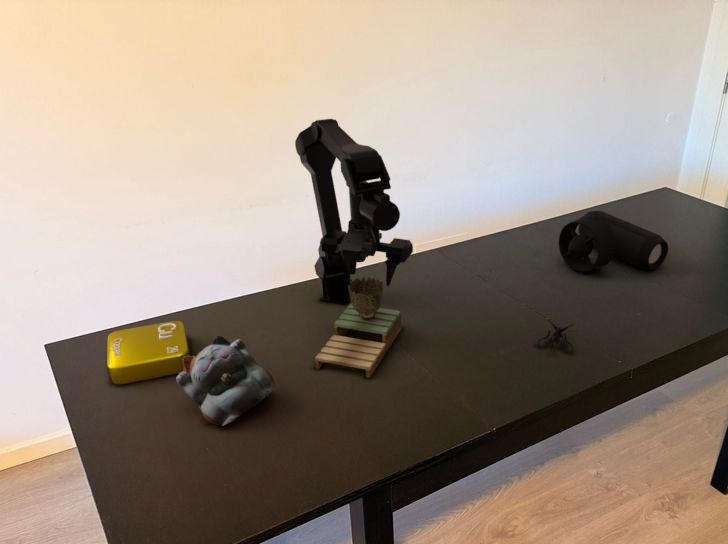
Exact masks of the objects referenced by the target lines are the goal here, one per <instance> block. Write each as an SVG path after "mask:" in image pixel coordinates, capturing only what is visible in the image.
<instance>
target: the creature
mask: <svg viewBox="0 0 728 544" xmlns="http://www.w3.org/2000/svg"><path fill="white" fill-rule="evenodd" d="M546 319H547V321H548V322H549V323H550V325H552V327H553V328H554V330H555V332H553V334H552V335H551V330H548V331H547V332H548V334H547V335H546V336H544V337H542V338H539V339H538V341H537V343H536V344H537V347H538V348H539V349H543V348H544V347H546V345H544V346H540V345H539V342H541V341H543V340H546V339H549V337H550V339H549V341H547V342H546V343H547V344H548V345H547V347H550V353H552V350H553V354H555V353H556V349H557V348H558V344H559V343H560V340H561V338H562V345H563V347H565V346H566V345H565V343H567V344H568V345H569V346H570V347H571V351H570V352H569V354H571V353H572V352H573V351H574V347H573V345H572V343H570V342H569V341H568V340H567V333H566V332H565V331H566V330H567V329H568V328H570V327H572V326H574V323H572V324H569V325H568V326H565V327H560V326H559V327H557V326H556V325H555V324H554V323H553V322H552V321H551V320H549V319H548V318H546ZM563 332H565V333H564V336H563ZM554 342H555V346H554ZM549 343H551V344H550V345H549ZM553 347H554V349H553ZM563 347H560V349H562V350H563V351H564V352H565V353H566V354H568V352H567V351H566V350H565V349H564V348H563Z"/></svg>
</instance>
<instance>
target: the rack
mask: <svg viewBox="0 0 728 544" xmlns="http://www.w3.org/2000/svg"><path fill="white" fill-rule="evenodd" d="M346 307H347V308H345V309H344V311H342V313H341V314H340V315H339V316H338V319H336V320H335V321H334V323H333V335H331V337H330V338H329V340H328V341H327V342H325V345H324V346H323V347H322V348H321V350H320V352H318V354H316V356H315V358H314V359H315V361H314V367H315V369H318V370H319V369H320V368H321V367H322V366H323V364H324V363H327V364H333V365H339V366H343V367H344V366H345V367H349V368H356V369H362V370H365V378H368V379H370V378H371V377H372V375H373V374H374V372H375V371H376V369H377V367H378V366H379V365H380V363H381V361H382V360H383V358H384V357H385V355H386V354H387V352H388V350H389V348H390V347H391V346H392V344H393V343H394V341H395V340H396V339H397V336H398V335H399V334H400V332H401V330H402V313H401V310H397V309H395V310H394V309H391V308H390V309H389V308H382V307H380V308H379V309H378V310H377V311H376V315H375V317H374V318H373V319H370V320H364V319H362V318H360V316H359V313H358V312H357V311H356V310H355V309H354V308H353V306H352V303H349V304H348V306H346ZM350 330H354V331H360V332H367V333H373V334H379V335H381V337H382V342H379V341H373V340H366V339H361V338H356V337H355V338H354V337H348V336H346V335H347V333H348V332H349V331H350Z"/></svg>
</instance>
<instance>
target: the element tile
mask: <svg viewBox="0 0 728 544" xmlns="http://www.w3.org/2000/svg"><path fill="white" fill-rule="evenodd" d="M189 348H190V347H189V342H188V337H187V333H186V329H185V325H184V323H183V322H182V321H181V320H171V321H166V322H160V323H155V324H153V323H152V324H148V325H141V326H136V327H131V328H126V329H119V330H114V331H111V333H109V334H108V336H107V349H106V351H107V355H106V357H107V358H106V365H107V369H108V372H109V375H110V378H111V381H112V383H113V384H116V385H126V384H133V383H136V382H138V383H139V382H141V381H143V382H144V381H147V380H151V379H153V380H154V379H157V378H163V377H167V376H173V375H177V374H178V375H179V373H180V371H181V370H182V366H183V357H186V356H191V354H190V349H189Z"/></svg>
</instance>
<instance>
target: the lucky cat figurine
mask: <svg viewBox="0 0 728 544" xmlns="http://www.w3.org/2000/svg"><path fill="white" fill-rule="evenodd" d="M175 380H176V383H177V384H178V386H180V387H181V388H182V389H183V391H184V392H185V393H186V395H188V396H189V397H190V399H191V400H192V401H193V402H194V403H195V404H196V405H197V407H198V408H199V409H200V411H201V413H202V416H203V418H204V419H205V420H206V422H207V423H209V424H211V425H217V426H220V427H224V426H226V425H228V424H230V423H232V422H234V421H235V420H236V419H237V418H239V417H240V416H241V415H242V414H244V413H245V412H246V411H248V410H249V409H251V408H253V407H254V406H256V405H257V404H259V403H260V402H262V401H263V400H265V399H266V397H268V396H269V395H270V394H271V393H272V392H273V391H274V389H275V381H274V378H273V376H272V374H271V373H270V372H269V370H268V369H266V368H264V367H262V366H260V365H258V362H257V361H256V359H255V357H254V356H253V355H252V353H251V352H250V351H249V349H248V348H247V346H246V344H245V342H244V341H243V339H235V340H234V341H233V342H232V343H231V342H230V341H229V340H228V339H226V338H225V337H224V336H221V335H217V336H215V338H214V340H212V342H211V344H210V345H207V346H205V347H204V348H203V349H202V350H200V351H199V352H198V353H197V354H196V355H190V356H186V357H183V366H182V370H181V371H180V373H178V375H177V376H176V378H175Z"/></svg>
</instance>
